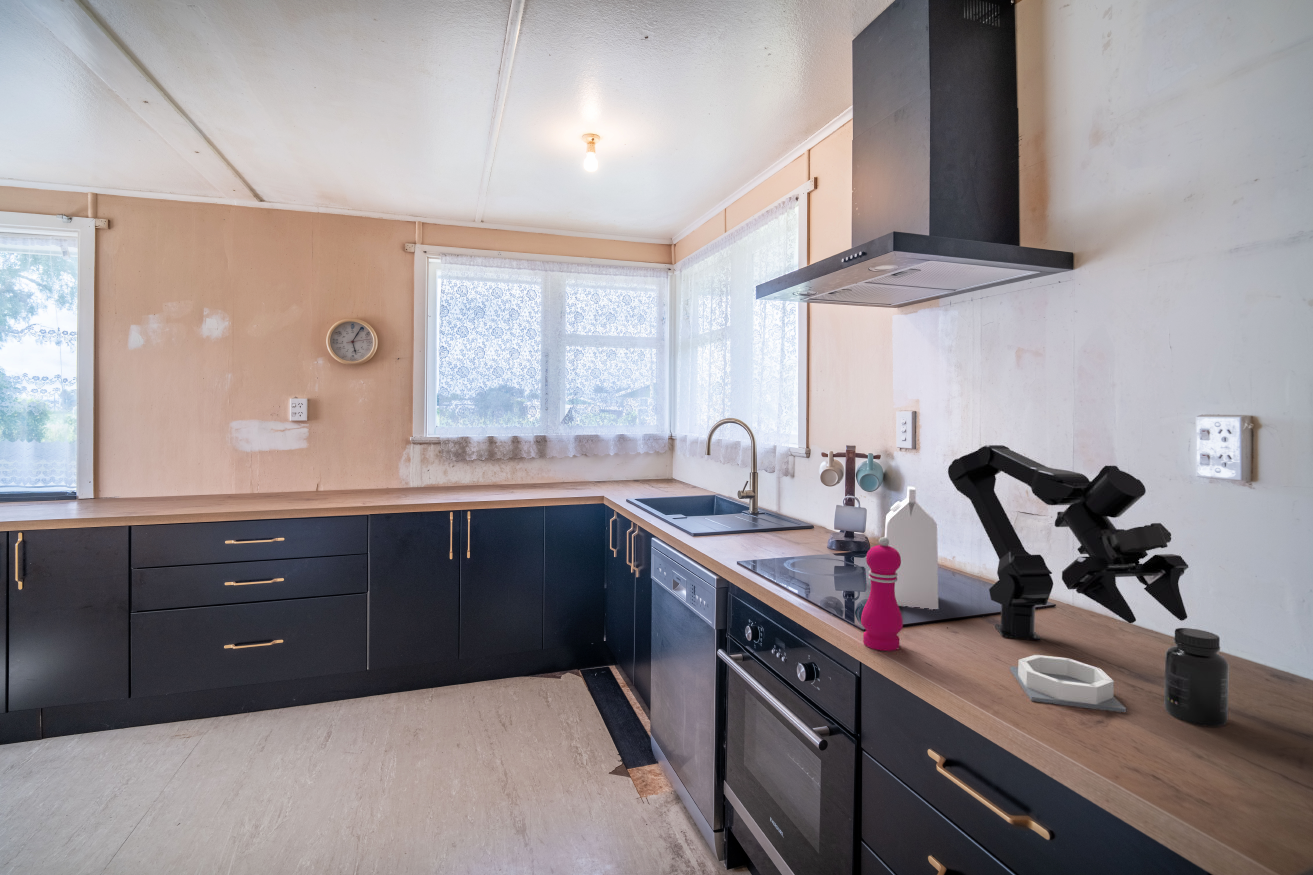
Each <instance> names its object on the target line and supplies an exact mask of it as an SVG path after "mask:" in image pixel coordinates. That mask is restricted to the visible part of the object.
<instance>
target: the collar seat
mask: <svg viewBox="0 0 1313 875" xmlns="http://www.w3.org/2000/svg"><path fill="white" fill-rule="evenodd" d="M1009 671H1010V672H1011V673H1012V675H1013V676H1014V678H1015V679H1016V681H1017V682H1018V684H1019V685H1020V687H1021V688H1022V689H1023V691H1024V692H1025V694H1026V696H1027V697H1028V698H1029V700H1030V701H1031V702H1037V703H1044V704H1052V703H1053V704H1052V705H1054V704H1055V705H1060V706H1068V707H1075V708H1076V707H1077V708H1085V709H1093V710H1098V709H1099V710H1100V711H1106V710H1109V711H1108V712H1113V711H1117V712H1116V713H1121V712H1126V713H1127V708H1126V707H1125V705H1123V704H1122V703H1121V702H1120V701H1119V700H1118V699H1117V698H1116V697H1115V696H1114V687H1115V686H1114V685H1115V681H1114V680H1113V679H1112V678H1111V677H1110V676H1109V675H1108V674H1107V673H1106V672H1105V671H1104V670H1102V669H1101V668H1100V667H1096V666H1093V665H1090V664H1087V663H1084V662H1081V661H1078V660H1075V659H1072V658H1068V657H1060V656H1050V655H1042V654H1033V655H1030V656H1027V657H1023V658H1020V659H1018V663H1017V666H1012V665H1011V666H1009ZM1118 711H1119V712H1118Z"/></svg>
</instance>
